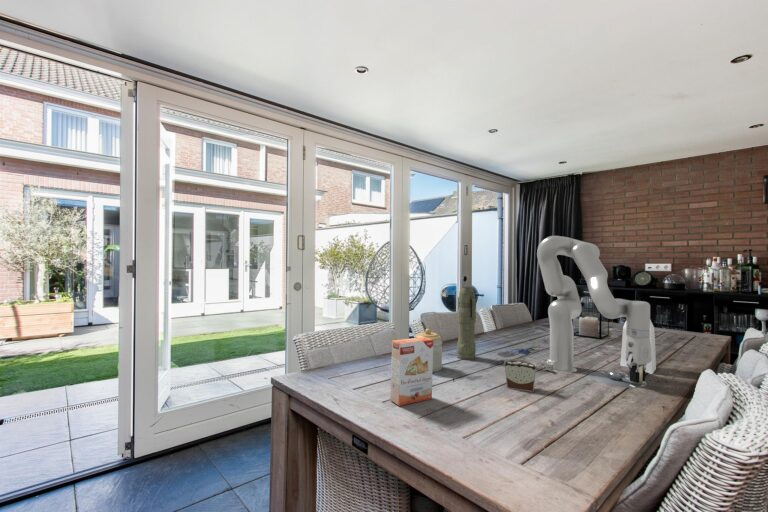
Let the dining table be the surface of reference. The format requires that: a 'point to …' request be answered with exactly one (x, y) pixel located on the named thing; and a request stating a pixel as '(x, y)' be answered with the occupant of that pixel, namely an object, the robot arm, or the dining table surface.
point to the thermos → (466, 324)
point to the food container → (520, 374)
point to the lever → (622, 376)
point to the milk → (652, 365)
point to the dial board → (613, 380)
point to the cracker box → (411, 370)
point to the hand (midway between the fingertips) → (637, 380)
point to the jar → (434, 348)
